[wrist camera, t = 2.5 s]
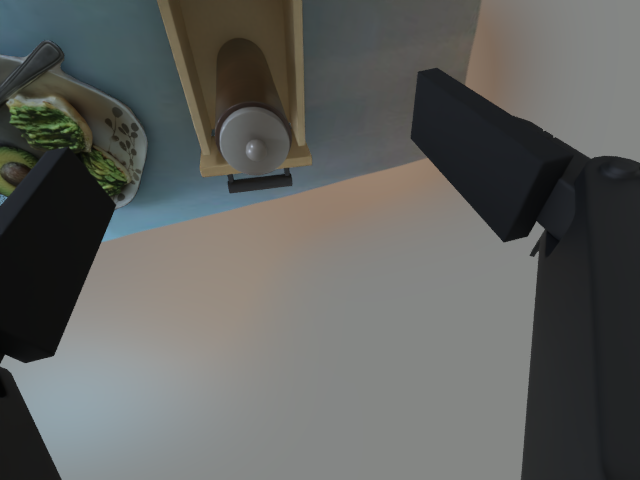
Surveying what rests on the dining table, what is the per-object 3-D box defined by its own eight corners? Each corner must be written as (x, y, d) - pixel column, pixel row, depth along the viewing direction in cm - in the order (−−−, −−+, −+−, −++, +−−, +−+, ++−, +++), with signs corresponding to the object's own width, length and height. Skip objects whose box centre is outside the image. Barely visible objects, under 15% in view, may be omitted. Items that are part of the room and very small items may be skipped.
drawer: (301, 164, 43) (312, 194, 38) (212, 174, 41) (211, 207, 36) (294, -44, 27) (311, -39, 22) (150, -46, 25) (133, -40, 20)
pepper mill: (222, 94, 33) (224, 193, 20) (211, 38, 29) (204, 119, 17) (269, 90, 34) (298, 184, 21) (264, 36, 30) (295, 111, 18)
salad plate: (-69, -26, 24) (-112, -19, 21) (170, 92, 33) (165, 108, 30) (-51, 165, 34) (-78, 189, 30) (130, 213, 43) (123, 235, 40)
